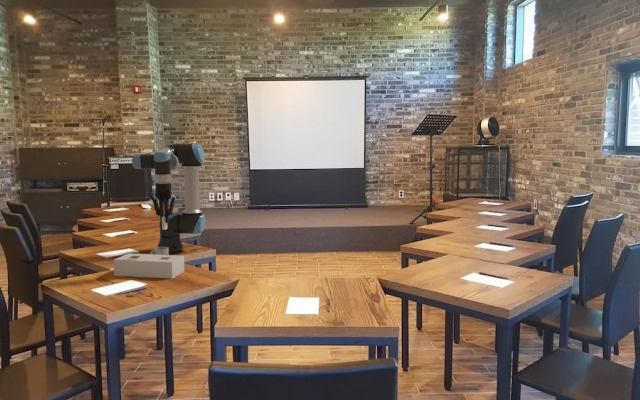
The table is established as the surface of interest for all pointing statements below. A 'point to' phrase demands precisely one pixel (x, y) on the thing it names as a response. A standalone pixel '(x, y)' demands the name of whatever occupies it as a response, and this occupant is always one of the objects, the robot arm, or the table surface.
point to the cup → (160, 251)
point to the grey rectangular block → (149, 266)
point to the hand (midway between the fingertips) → (164, 229)
